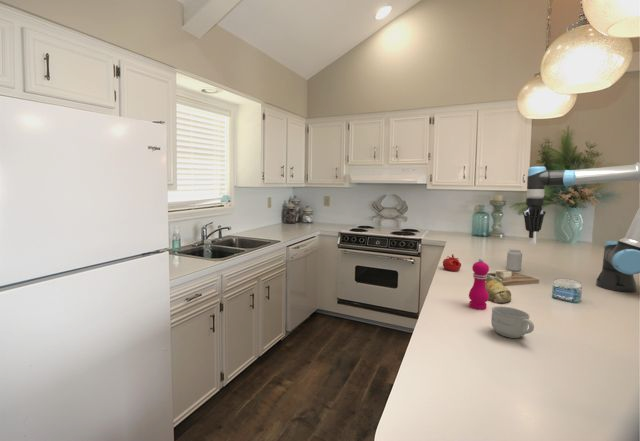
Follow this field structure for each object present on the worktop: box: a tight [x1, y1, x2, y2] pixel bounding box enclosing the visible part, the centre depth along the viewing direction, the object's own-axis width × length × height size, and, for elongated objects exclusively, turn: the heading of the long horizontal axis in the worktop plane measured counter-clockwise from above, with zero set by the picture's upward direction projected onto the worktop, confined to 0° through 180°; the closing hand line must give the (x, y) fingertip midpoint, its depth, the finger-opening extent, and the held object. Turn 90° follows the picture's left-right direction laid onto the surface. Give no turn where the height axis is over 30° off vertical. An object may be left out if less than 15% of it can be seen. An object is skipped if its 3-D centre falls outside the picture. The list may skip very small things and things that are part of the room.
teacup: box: [490, 305, 535, 339], centre depth 110 cm, size 14×11×8 cm
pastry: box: [485, 280, 512, 304], centre depth 148 cm, size 14×12×8 cm
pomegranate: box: [442, 254, 462, 272], centre depth 197 cm, size 10×10×9 cm
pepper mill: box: [468, 257, 490, 311], centre depth 136 cm, size 7×7×20 cm
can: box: [506, 249, 523, 272], centre depth 200 cm, size 8×8×12 cm
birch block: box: [495, 269, 513, 281], centre depth 172 cm, size 5×5×4 cm
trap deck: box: [485, 271, 540, 287], centre depth 178 cm, size 16×25×4 cm, turn 107°
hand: (532, 244), depth 174 cm, fingers closed
